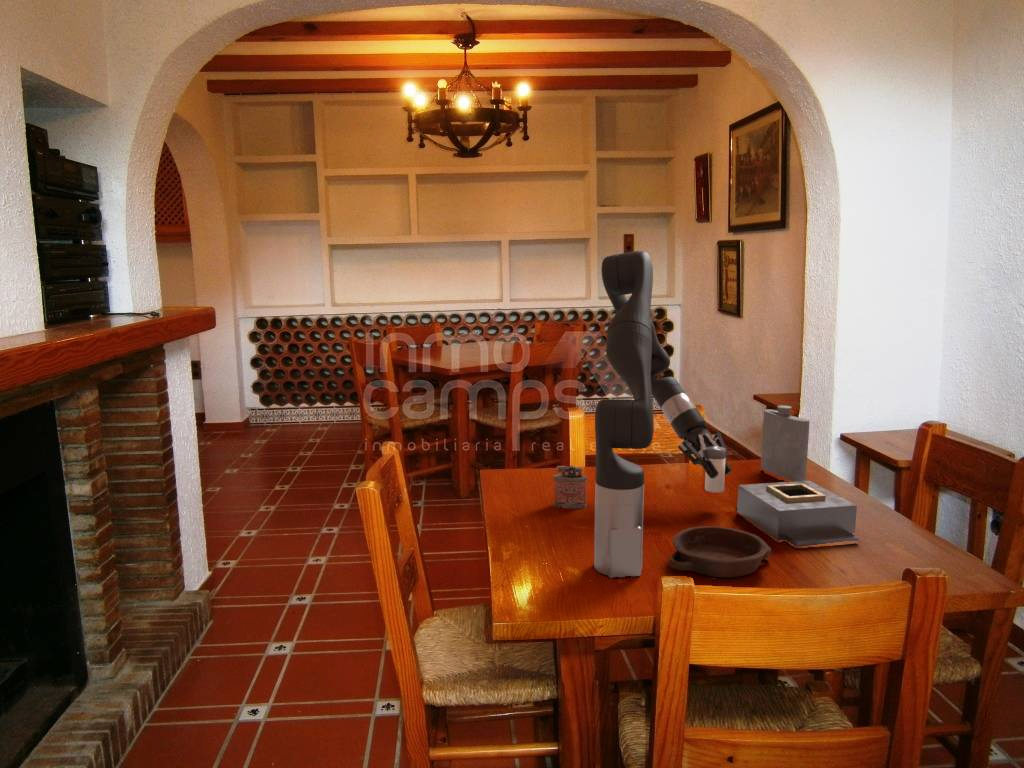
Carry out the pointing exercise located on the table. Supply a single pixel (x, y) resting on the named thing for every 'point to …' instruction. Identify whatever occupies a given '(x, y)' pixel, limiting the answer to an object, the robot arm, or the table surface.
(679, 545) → the dish
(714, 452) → the salt shaker
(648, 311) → the robot arm
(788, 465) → the hip flask
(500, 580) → the table surface
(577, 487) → the lighter
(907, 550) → the table surface
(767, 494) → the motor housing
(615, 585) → the table surface
